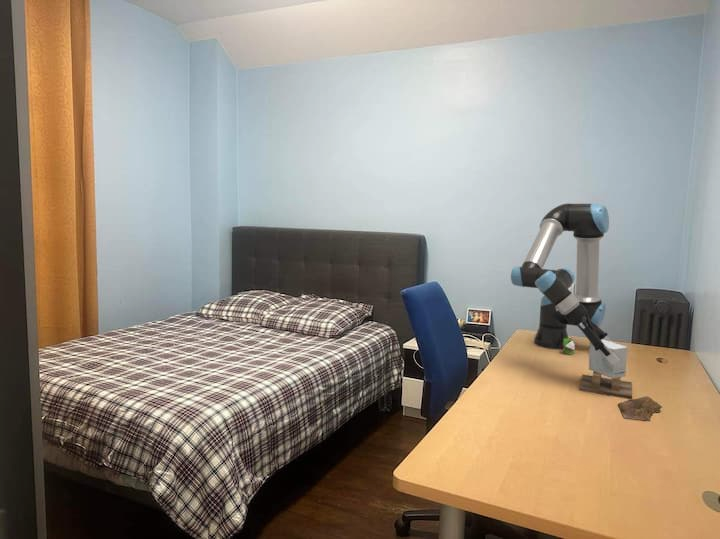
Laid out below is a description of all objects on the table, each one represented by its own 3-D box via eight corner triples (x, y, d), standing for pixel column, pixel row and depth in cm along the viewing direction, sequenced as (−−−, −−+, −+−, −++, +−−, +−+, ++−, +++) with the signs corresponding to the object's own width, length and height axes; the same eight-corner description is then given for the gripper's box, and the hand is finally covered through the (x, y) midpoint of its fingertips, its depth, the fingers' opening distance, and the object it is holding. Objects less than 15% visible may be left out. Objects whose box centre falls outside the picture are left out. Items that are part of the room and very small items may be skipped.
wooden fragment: (645, 425, 145) (646, 422, 145) (605, 414, 153) (606, 411, 153) (670, 403, 163) (670, 400, 163) (633, 394, 171) (633, 391, 171)
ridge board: (582, 377, 187) (583, 363, 186) (631, 384, 179) (632, 371, 179) (578, 390, 172) (579, 375, 172) (631, 399, 165) (633, 384, 165)
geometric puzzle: (553, 345, 222) (561, 334, 217) (566, 344, 224) (575, 333, 219) (561, 358, 217) (570, 347, 212) (574, 357, 219) (583, 346, 214)
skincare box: (587, 369, 179) (589, 340, 178) (601, 367, 181) (603, 338, 180) (611, 379, 169) (613, 348, 168) (626, 376, 172) (628, 346, 170)
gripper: (566, 310, 191) (608, 355, 186) (559, 321, 169) (605, 373, 164) (583, 297, 188) (625, 343, 183) (577, 308, 166) (625, 360, 161)
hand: (616, 357), depth 173 cm, fingers open, 12 cm apart
